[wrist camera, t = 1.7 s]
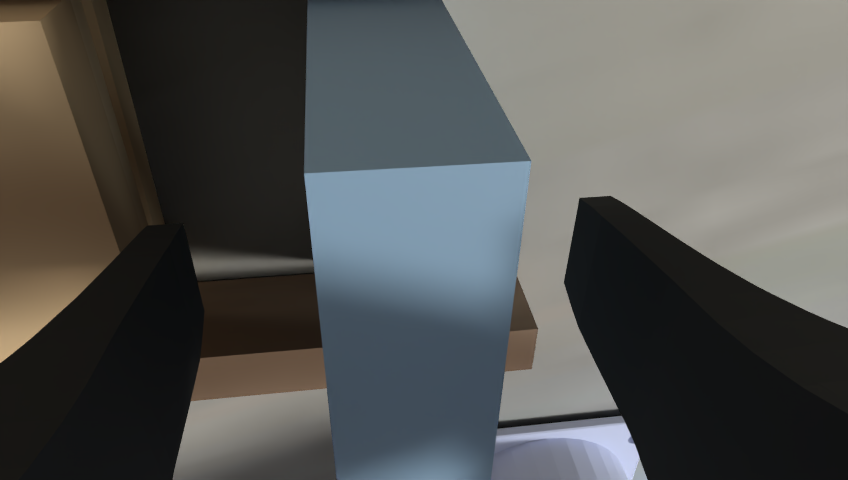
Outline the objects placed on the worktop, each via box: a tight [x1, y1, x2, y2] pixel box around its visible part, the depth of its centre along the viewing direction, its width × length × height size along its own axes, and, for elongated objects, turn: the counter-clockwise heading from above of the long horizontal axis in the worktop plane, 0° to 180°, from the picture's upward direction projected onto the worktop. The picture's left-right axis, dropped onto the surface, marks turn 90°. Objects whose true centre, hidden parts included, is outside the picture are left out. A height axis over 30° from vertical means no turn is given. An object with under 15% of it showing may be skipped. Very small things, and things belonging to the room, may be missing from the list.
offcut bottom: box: [81, 0, 165, 225], centre depth 15 cm, size 8×6×2 cm
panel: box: [304, 0, 531, 480], centre depth 13 cm, size 8×2×9 cm, turn 179°
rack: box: [191, 274, 538, 401], centre depth 15 cm, size 12×18×3 cm, turn 89°
